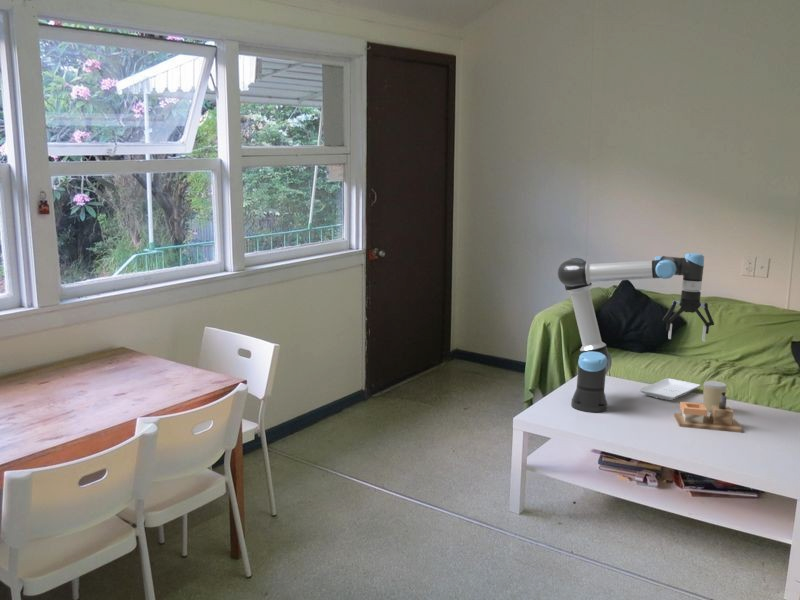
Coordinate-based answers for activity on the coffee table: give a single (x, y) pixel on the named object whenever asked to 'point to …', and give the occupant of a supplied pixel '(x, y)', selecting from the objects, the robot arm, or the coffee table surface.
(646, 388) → the tray
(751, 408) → the coffee table surface
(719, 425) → the stand
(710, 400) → the coffee cup
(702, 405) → the square frame
